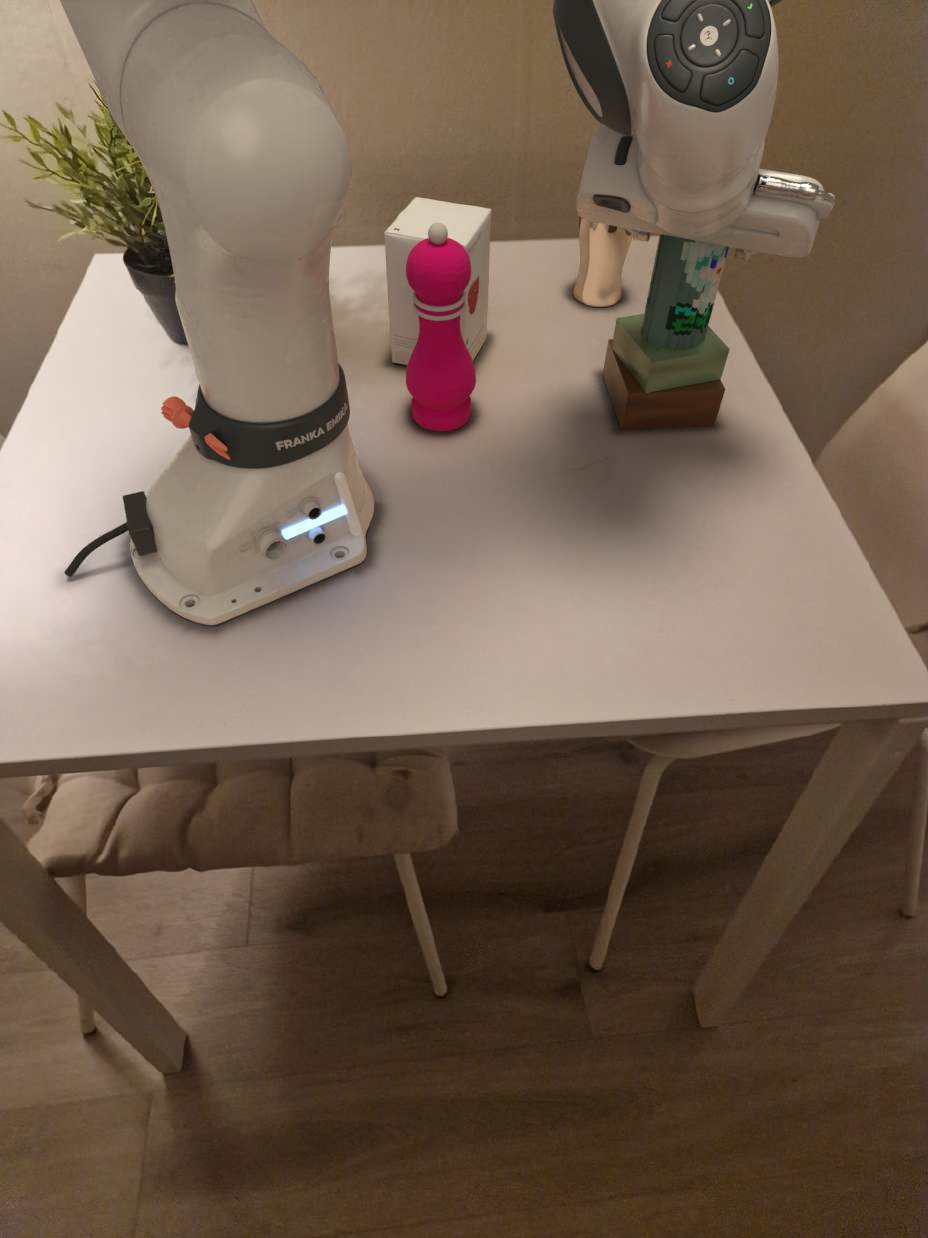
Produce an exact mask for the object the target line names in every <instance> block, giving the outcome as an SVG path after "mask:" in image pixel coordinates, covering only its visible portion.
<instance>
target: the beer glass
mask: <svg viewBox="0 0 928 1238" xmlns="http://www.w3.org/2000/svg"><path fill="white" fill-rule="evenodd" d="M578 236H579V237H578V239H579V240H578V242H579V266H578V272H577V277H576V280H575V283H574V286H573V289H572V294H573V297H574V298H575V299H576V300H577V301H578V302H579V303H581V304H582V305H585V306H589V307H594V308H595V307H596V308H604V307H610V306H613V305H615V304H617V303H618V302H620V300H621V298H622V292H623V291H622V290H623V289H622V287H623V285H622V276H623V269H624V264H625V260H626V258H627V255H628V252H629V249H630V246H631V243H632V241H633V235H632V233H630V232H629V231H627V230H626V229H624V228H623V227H618V226H612V225H607V224H601V223H595V222H590V221H587V220H585V219H583V218H581V217H580V216H579V215H578Z"/></svg>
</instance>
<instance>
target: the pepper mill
mask: <svg viewBox="0 0 928 1238" xmlns="http://www.w3.org/2000/svg"><path fill="white" fill-rule="evenodd" d="M428 237H429V238H426V239H424V240H422V241H420V242H419V243H417V244H416V245H415V246H414V247H413V248H412V250H411V252H410V253H409V255H408V258H407V262H406V277H407V280H408V283H409V285H410V286H411V288H412V289H413V290H414V292H413V297H412V298H413V301H414V302H413V309H414V311H415V312H416V313H417V314H418V317H419V336H418V340H417V343H416V346H415V348H414V350H413V352H412V354H411V356H410V359H409V362H408V365H406V370H405V385H406V389H407V391H408V392H409V394H410V395H411V396H412V398H411V415H412V418H413V420H414V421H415V422H416V424H417V425H419V426H420V427H421V428H424V429H426V430H428V431H429V430H430V431H434V432H446V431H447V432H448V431H449V432H450V431H453V430H456V429H459V428H460V427H463V426H465V424H466V423H467V422H468V421H469V420H470V418H471V415H472V399H471V395H472V393H474V390H475V388H476V383H477V376H476V367H475V364H474V360H473V361H472V358H471V355H470V353H469V351H468V349H467V347H466V345H465V343H464V341H463V338H462V335H461V330H460V317H461V314H462V313H463V312H464V310H465V308H466V303H465V299H466V294H465V291H464V290H465V288H466V287H467V286H468V284H469V281H470V279H471V262H470V258H469V255H468V253H467V251H466V250H465V248H464V247H463V246H462V245H461V244H460V243H458V242H457V241H455V240H453V239H451V238H447V237H448V230H447V228H446V226H445V225H444V224H442V223H438V222H437V223H434V224H432V225H431V226H430V227H429V230H428Z"/></svg>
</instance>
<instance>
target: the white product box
mask: <svg viewBox="0 0 928 1238" xmlns="http://www.w3.org/2000/svg"><path fill="white" fill-rule="evenodd" d="M437 222H438V223H442V224H444V225H445V226H446V228H447V230H448V237H447V238H451V239H453V240H455V241H457V242H458V243H460V244H461V245H462V246H463V247H464V248H465V250H466V251H467V253H468V255H469V258H470V262H471V279H470V281H469V284H468V286H467V287H466V288H465V290H464V291H465V294H466V299H465V303H466V308H465V310H464V312H463V313H462V314H461V317H460V330H461V335H462V338H463V341H464V343H465V345H466V347H467V349H468V351H469V353H470V355H471V358H472V361H473V362H474V360H475V359H476V357H477V355H478V354H479V352H480V350H481V348H482V347H483V345H484V343H485V341H486V339H487V336H488V314H489V313H488V312H489V311H488V310H489V285H490V284H489V283H490V258H491V257H490V255H491V253H490V252H491V226H492V225H491V224H492V209H491V208H487V207H482V206H477V205H469V204H463V203H462V204H461V203H455V202H448V201H442V200H437V199H432V198H426V197H418V196H416V197H414V198H413V199H412V200H411V201H410V202H409V203H408V205H407V206H406V207H405V208H404V209H403V210H402V211H400V212H399V214H398V215H397V216H396V218H395V220H394V221H393V222H392V223H391V224H390V226H389V227H387V228H386V230H385V231H384V232H383V235H384V250H385V267H386V285H387V301H388V302H387V303H388V317H389V332H390V333H389V334H390V351H391V362H392V363H395V364H399V365H405V366H407V365H408V362H409V359H410V356H411V354H412V352H413V350H414V348H415V346H416V343H417V340H418V336H419V317H418V314H417V313H416V312H415V311H414V309H413V302H414V301H413V298H412V297H413V292H414V290H413V289H412V288H411V286H410V285H409V283H408V280H407V277H406V262H407V258H408V255H409V253H410V252H411V250H412V248H413V247H414V246H415V245H416V244H417V243H419V242H420V241H422V240H424V239H426V238H429V237H428V230H429V227H430V226H431V225H432V224H434V223H437Z"/></svg>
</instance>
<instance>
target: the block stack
mask: <svg viewBox="0 0 928 1238" xmlns="http://www.w3.org/2000/svg"><path fill="white" fill-rule="evenodd" d="M643 318H644V313H640V314H633V315H627V316H621V317H620V316H619V317H617V318H616V320H615V326H614V332H613V338H610V339H608V340H607V347H606V352H605V359H604V364H603V371H602V377H603V379H604V383H605V386H606V389H607V392H608V395H609V398H610V402H611V404H612V408H613V410H614V413H615V416H616V419H617V422H618V424H619V427H620V430H621V431H635V430H636V431H637V430H654V429H655V430H657V429H675V428H676V429H677V428H695V427H712V426H713V427H714V426H715V425H716V421H717V419H718V415H719V412H720V409H721V405H722V402H723V399H724V396H725V393H726V388H725V386H724V384H723V382H722V380H721V379H722V376H723V373H724V371H725V366H726V363H727V359H728V356H729V353H730V350H731V349H730V347H728V345H727V344H726V343H724V341H723V340H722V339H721V337H720V336H719V335H718V334H717V333H716V332H715V331H714V330H713V329H712V328H711V327H710V326H709V325H708V328H707V332H706V336H705V339H704V341H703V342H702V343H700V344H699V345H698V346H696V347H695V348H690V347H689V348H688V349H686V350H683V349H681V350H677V349H675V350H674V351H673V350H671V349H669V348H665V349H663V348H661V347H659V346H656V345H654V344H652V343H650V342H648V339H647V338H645V337H643V335H644V334H642V331H641V328H642V323H643Z"/></svg>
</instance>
